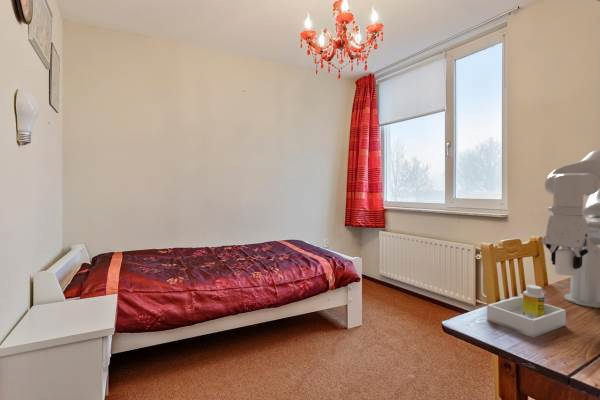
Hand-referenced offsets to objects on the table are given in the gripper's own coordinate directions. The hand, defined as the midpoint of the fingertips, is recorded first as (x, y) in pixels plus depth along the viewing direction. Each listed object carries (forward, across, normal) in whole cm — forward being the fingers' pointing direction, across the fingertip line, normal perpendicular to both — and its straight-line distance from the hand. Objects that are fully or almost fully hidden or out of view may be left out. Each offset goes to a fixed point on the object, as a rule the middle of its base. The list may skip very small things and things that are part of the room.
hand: (566, 265), depth 105 cm
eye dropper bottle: (+3, 0, 0) cm, 3 cm away
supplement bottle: (+16, -3, -13) cm, 21 cm away
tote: (+17, -3, -18) cm, 24 cm away
